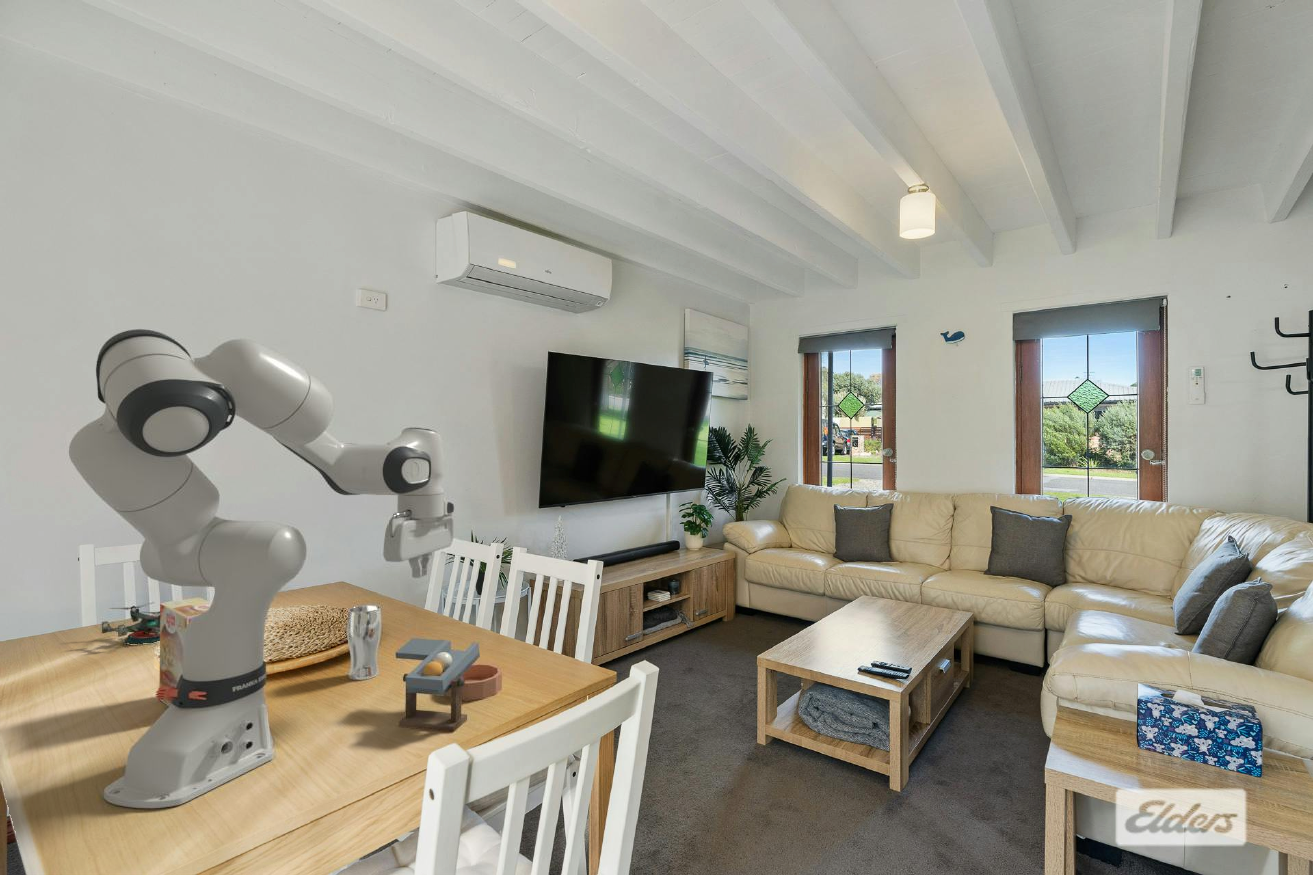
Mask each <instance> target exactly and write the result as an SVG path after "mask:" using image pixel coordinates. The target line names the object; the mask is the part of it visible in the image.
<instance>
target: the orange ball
mask: <svg viewBox="0 0 1313 875" xmlns="http://www.w3.org/2000/svg"><path fill="white" fill-rule="evenodd" d="M442 672H443V668H442V666H441V664H440V663H438V662H435V661H433V662H429V663H428V664H426V666H425V667H424V669H423V675H430V676H441V675H442Z"/></svg>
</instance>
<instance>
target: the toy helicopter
mask: <svg viewBox="0 0 1313 875" xmlns="http://www.w3.org/2000/svg"><path fill="white" fill-rule="evenodd" d="M155 603H156V602H155V601H154V602H150V603H149V602H148V603H145V604H142V605H136V606H135V605H132V606H130V607H129V606H127V607H110V608H109V609H115V610H126V611H128V610H129V614H130V618H131V620H132V622H133V623H135V624H132V625H131V624H130V625H128V626H126V625H125V624H120V625H118V626H117V627H111V625H110V623H109V622H108V620H106V621H102V622H101V634H106V633H112V632H116V633H117V634H118V635H117V638H118V637H125V636H127V637H125V638H124V641H125V643H129V644H143V643H154V642H157V641H160V610H159V611H140V608H142V607H146V606H149V605H152V604H155ZM150 614H151V615H150ZM136 622H137V623H136ZM128 633H130V634H128ZM125 643H124V644H125ZM154 644H155V643H154Z"/></svg>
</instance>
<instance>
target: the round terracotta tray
mask: <svg viewBox="0 0 1313 875" xmlns="http://www.w3.org/2000/svg"><path fill="white" fill-rule="evenodd" d="M462 678H464V679H465V683H464V686H462V692H461V701H469V702H470V701H477V700H484V699H486V698H489V697H492V696H495V695H497V694H498V693H499V692H500V691H502V688H503V681H502V680H503V672H502V668H501V667H500V666H499V665H495V664H493V663H482V662H481V663H480V662H479V663H473V664H472V666H471V667H470V668H469V669H468V670H467V671H466V672H465V673H464V674H463V675H462ZM446 696H447V697H448V698H450V699H451V689H450V690H449V691H448V692H447V693H446Z"/></svg>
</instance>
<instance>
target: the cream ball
mask: <svg viewBox="0 0 1313 875" xmlns="http://www.w3.org/2000/svg"><path fill="white" fill-rule="evenodd" d="M433 661H435V662H438V663H440V664H441V666H442V668H443V671H446V670H447V669H448V668H449V667H450V666H451V664H452V657H451V655H450V654H448V653H446V652H441V653H439V654H437V655H436V656H435V657H434V659H433Z"/></svg>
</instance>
